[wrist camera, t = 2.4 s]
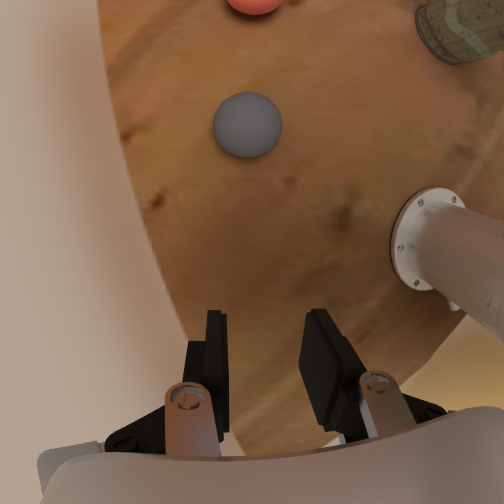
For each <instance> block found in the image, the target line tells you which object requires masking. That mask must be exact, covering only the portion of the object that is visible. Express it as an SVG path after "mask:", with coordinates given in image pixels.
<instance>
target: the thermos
mask: <svg viewBox="0 0 504 504" xmlns="http://www.w3.org/2000/svg"><path fill="white" fill-rule="evenodd" d="M415 24H416V27H417V31H418V33H419V35H420V37H421V39H422V41H423V42H424V44H425V45H426V46H427V48H428V49H429V50H430V51H431V52H432V53H433V54H434V55H435V56H436V57H437V58H439V59H440V60H442V61H443V62H445V63H448V64H451V65H453V64H459V63H461V62H472V61H477V60H481V59H486V58H488V57H490V56H492V55H494V54H496V53H497V52H498V51H502V50H504V0H431V1H429V2H428V4H427V5H425V6H423V7H421V8H419V9H418V10H417V12H416V14H415Z"/></svg>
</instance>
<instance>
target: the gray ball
mask: <svg viewBox="0 0 504 504" xmlns="http://www.w3.org/2000/svg"><path fill="white" fill-rule="evenodd" d="M213 130H214V134H215V137H216V139H217V141H218V143H219V144H220V145H221V147H222V148H223V149H224V150H226V151H227V152H229V153H230V154H232V155H234V156H237V157H242V158H254V157H258V156H261V155H263V154H265V153H267V152H268V151H270V150H271V149H272V148H273V147H274V146H275V145H276V143H277V142H278V140H279V138H280V135H281V132H282V118H281V115H280V112H279V110H278V108H277V107H276V105H275V104H274V103H273V102H272V101H271V100H270V99H268V98H267V97H265V96H263V95H261V94H258V93H253V92H243V93H238V94H235V95H233V96H231V97H229V98H227V99H226V100H225V101H224V102H223V103H222V104H221V105H220V106H219V108H218V109H217V111H216V113H215V116H214V121H213Z"/></svg>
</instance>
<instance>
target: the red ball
mask: <svg viewBox="0 0 504 504" xmlns="http://www.w3.org/2000/svg"><path fill="white" fill-rule="evenodd" d="M227 1H228V3H229V4H230V5H231V6H232V7H233V8H234V9H236V10H238V11H240V12H242V13H245V14H250V15H259V14H265V13H268V12H271V11H272V10H274V9H276V8H277V7H278V6H279V5H280V4H281V3H282V2H283V0H227Z"/></svg>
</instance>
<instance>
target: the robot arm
mask: <svg viewBox="0 0 504 504" xmlns="http://www.w3.org/2000/svg"><path fill="white" fill-rule="evenodd" d="M391 257H392V263H393V266H394V269H395V271H396V273H397V275H398V276H399V278H400V279H401V280H402V281H403V282H404V283H405V284H407V285H408V286H410V287H411V288H413V289H416V290H424V291H425V290H431V289H436V290H437V291H439V292H440V293H441V294H443V295H444V296H445V297H447V301H448V304H449V307H450V309H451V310H452V311H456V310H458V309H460V308H461V309H462V310H464V311H465V312H466V313H467V314H469V315H470V316H471V317H473V318H474V319H475V320H476V321H478V322H479V323H480V324H482V325H483V326H484V327H485V328H486V329H487V330H489V331H490V332H491V333H492V334H494V335H495V336H496V337H497V338H498V339H500V340H501V341H502V342H503V343H504V221H501V220H498V219H495V218H492V217H490V216H487V215H484V214H481V213H478V212H475V211H472V210H469V209H466V208H465V205H464V203H463V202H462V200H461V199H460V197H459V196H458V195H456V194H455V193H454V192H452V191H451V190H449V189H446V188H442V187H430V188H426V189H424V190H422V191H419V192H418V193H417V194H415V195H414V196H413V197H412V198H411V199H410V200H409V201H408V202H407V203H406V204H405V206H404V207H403V209H402V211H401V212H400V214H399V216H398V219H397V221H396V223H395V226H394V230H393V233H392V240H391ZM299 370H300V373H301V376H302V378H303V381H304V384H305V387H306V390H307V393H308V396H309V399H310V401H311V404H312V407H313V410H314V413H315V416H316V419H317V422H318V424H319V425H323V427H324V430H325V432H329V431H337V432H339V440H340V445H337V446H331V447H325V448H319V449H313V450H306V451H298V452H290V453H280V454H269V455H255V456H230V457H229V456H228V457H227V456H226V457H222V456H221V451H220V446H219V443H221V442H222V441H223V440H224V433H223V432H229V368H228V344H227V315H226V314H221V310H208V315H207V327H206V341H188V347H187V354H186V360H185V367H184V374H183V381H182V383H178V384H176V385H173V386H172V387H171V388H169V390H168V391H167V393H166V395H165V405H164V406H162V407H160V408H158V409H157V410H155V411H153V412H151V413H149V414H148V415H146V416H144V417H142V418H140V419H138V420H137V421H135V422H133V423H131V424H129V425H127V426H125V427H123V428H121V429H119V430H118V431H115V432H114V433H112V434H111V435H110V436H109V437H108V438H107V439H106V441H105V442H102V443H98V442H97V441H92V442H87V443H83V444H77V445H72V446H67V447H61V448H55V449H49V450H46V451H44V452H43V453H41V454H40V456H39V458H38V459H37V468H38V474H39V478H40V483H41V488H42V493H43V497H42V500H41V503H40V504H504V410H503V409H501V408H498V407H493V406H478V407H473V408H467V409H463V410H459V411H453V410H449V411H448V412H446V411H445V410H444V409H443V408H442V407H440V406H438V405H436V404H433V403H430V402H427V401H424V400H420V399H418V398H415V397H412V396H409V395H406V394H403V393H401V391H400V389H399V387H398V385H397V383H396V381H395V379H394V378H393V377H392V376H391V375H389V374H387V373H385V372H382V371H375V370H373V371H367V370H366V368H365V366H364V365H363V363H362V362H361V360H360V358H359V357H358V355H357V354H356V352H355V350H354V349H353V347H352V346H351V344H350V343H349V341H348V339H347V338H346V337H344V336H342V334H341V332H340V331H339V329H338V328H337V326H336V325H335V323H334V321H333V320H332V318H331V317H330V315H329V313H328V312H327V310H326V309H325V308H322V309H312V310H311V312H308V313H307V314H306V320H305V327H304V333H303V340H302V346H301V352H300V358H299Z"/></svg>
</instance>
